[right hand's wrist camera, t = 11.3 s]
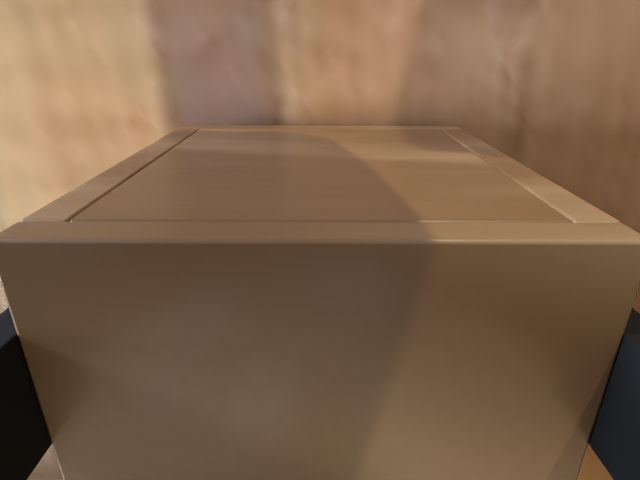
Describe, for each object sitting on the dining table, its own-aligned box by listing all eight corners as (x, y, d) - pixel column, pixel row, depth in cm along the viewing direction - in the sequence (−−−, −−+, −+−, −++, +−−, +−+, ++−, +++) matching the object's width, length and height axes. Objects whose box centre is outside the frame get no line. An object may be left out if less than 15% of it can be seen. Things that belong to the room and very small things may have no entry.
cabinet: (414, 474, 26) (481, 775, 15) (223, 474, 26) (156, 775, 15) (457, 125, 18) (657, 240, 7) (183, 124, 18) (-16, 238, 7)
